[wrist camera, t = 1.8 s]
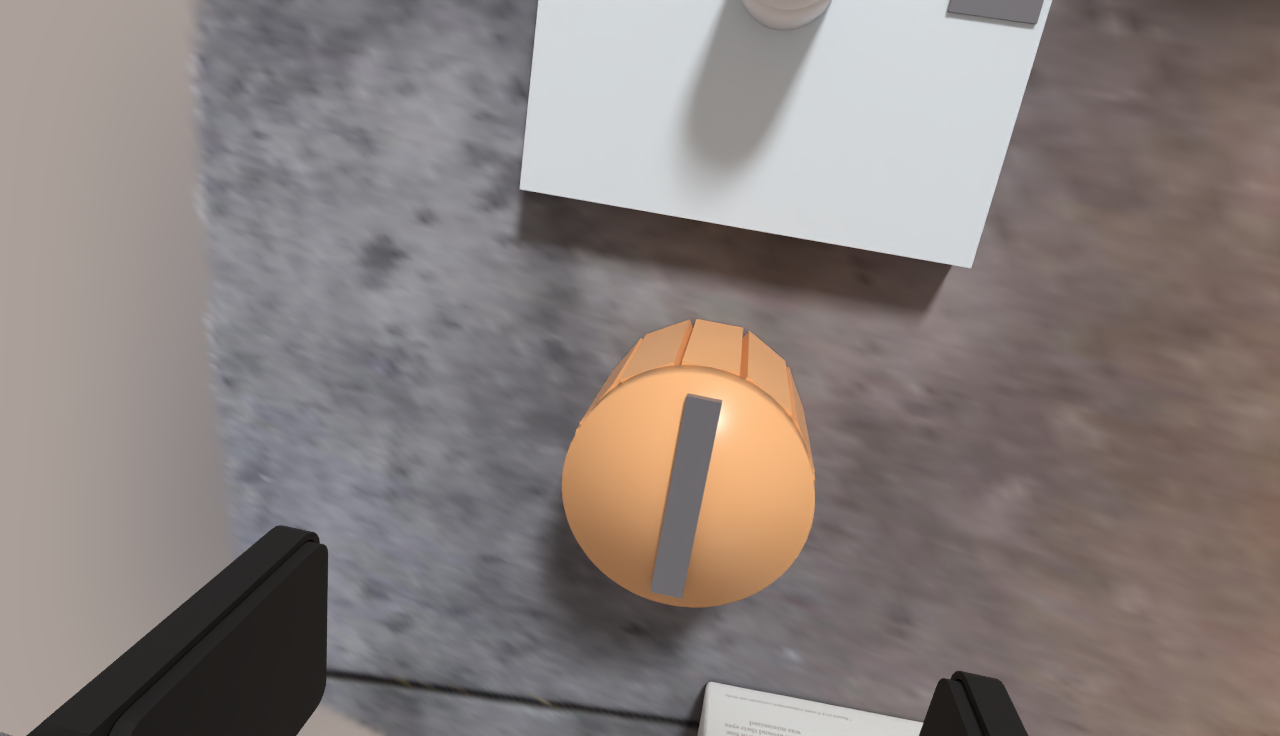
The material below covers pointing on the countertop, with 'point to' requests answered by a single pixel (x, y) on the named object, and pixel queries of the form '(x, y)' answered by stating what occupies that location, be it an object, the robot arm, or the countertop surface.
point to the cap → (693, 468)
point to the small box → (789, 716)
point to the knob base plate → (785, 113)
